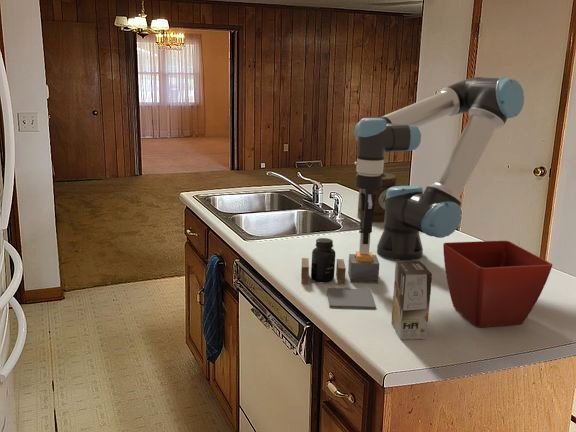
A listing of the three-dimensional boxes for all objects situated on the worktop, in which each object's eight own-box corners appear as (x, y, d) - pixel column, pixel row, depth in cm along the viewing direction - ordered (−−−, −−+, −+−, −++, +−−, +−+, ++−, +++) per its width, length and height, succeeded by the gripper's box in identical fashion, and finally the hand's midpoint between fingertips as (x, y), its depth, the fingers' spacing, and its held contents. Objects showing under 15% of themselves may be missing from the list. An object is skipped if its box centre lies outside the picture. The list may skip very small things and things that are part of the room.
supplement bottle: (332, 284, 159) (334, 244, 156) (309, 282, 161) (310, 242, 158) (335, 276, 166) (337, 237, 163) (312, 274, 167) (314, 235, 164)
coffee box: (427, 339, 128) (433, 274, 124) (400, 340, 127) (405, 274, 123) (415, 322, 137) (421, 260, 133) (389, 322, 136) (394, 260, 132)
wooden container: (387, 224, 224) (391, 170, 219) (352, 219, 230) (355, 166, 225) (397, 216, 237) (401, 165, 232) (363, 211, 243) (366, 161, 238)
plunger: (369, 271, 167) (370, 251, 165) (371, 276, 163) (372, 256, 161) (354, 270, 167) (356, 251, 165) (356, 275, 163) (357, 256, 161)
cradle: (342, 275, 167) (343, 259, 166) (344, 284, 159) (345, 268, 158) (301, 273, 167) (301, 257, 166) (301, 283, 160) (301, 267, 158)
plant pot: (544, 330, 135) (555, 264, 130) (472, 335, 131) (481, 268, 126) (499, 298, 153) (507, 239, 148) (435, 303, 149) (441, 242, 144)
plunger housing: (374, 273, 169) (375, 254, 167) (378, 283, 161) (379, 263, 160) (348, 272, 169) (349, 254, 168) (350, 282, 161) (351, 263, 160)
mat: (370, 291, 155) (370, 289, 155) (376, 308, 144) (376, 306, 144) (327, 289, 156) (327, 287, 155) (329, 307, 144) (329, 305, 144)
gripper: (353, 169, 164) (349, 246, 170) (358, 177, 151) (353, 260, 157) (379, 170, 163) (374, 246, 169) (386, 178, 151) (380, 261, 157)
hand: (364, 253), depth 163 cm, fingers closed
